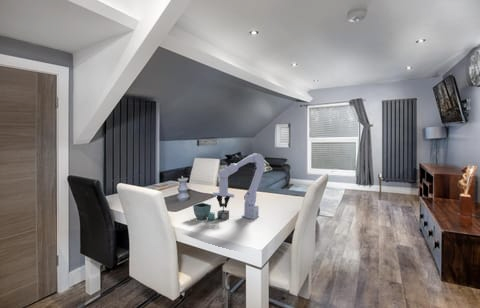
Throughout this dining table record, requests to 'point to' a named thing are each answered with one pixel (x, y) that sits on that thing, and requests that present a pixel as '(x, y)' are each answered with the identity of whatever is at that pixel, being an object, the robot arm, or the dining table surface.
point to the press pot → (223, 215)
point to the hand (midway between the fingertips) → (223, 207)
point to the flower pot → (201, 210)
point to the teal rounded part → (211, 216)
